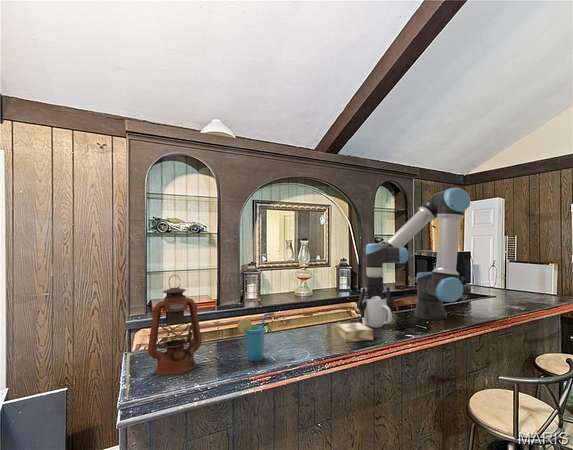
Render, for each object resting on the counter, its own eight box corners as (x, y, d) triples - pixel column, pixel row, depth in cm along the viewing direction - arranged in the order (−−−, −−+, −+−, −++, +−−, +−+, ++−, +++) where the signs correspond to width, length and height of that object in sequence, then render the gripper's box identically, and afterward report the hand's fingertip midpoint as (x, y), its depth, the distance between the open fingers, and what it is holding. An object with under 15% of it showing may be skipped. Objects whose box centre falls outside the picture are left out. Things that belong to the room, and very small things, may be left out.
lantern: (150, 380, 95) (150, 278, 96) (145, 366, 106) (145, 275, 108) (206, 368, 103) (206, 274, 105) (197, 356, 114) (196, 272, 116)
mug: (399, 328, 145) (398, 299, 146) (383, 332, 139) (382, 301, 140) (374, 321, 157) (372, 295, 158) (358, 325, 151) (357, 297, 152)
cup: (269, 350, 118) (268, 309, 119) (280, 356, 112) (279, 313, 112) (234, 359, 111) (233, 315, 111) (244, 366, 104) (243, 319, 105)
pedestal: (360, 331, 141) (360, 322, 141) (373, 339, 129) (373, 329, 129) (334, 333, 138) (334, 324, 138) (345, 342, 126) (345, 331, 127)
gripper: (392, 274, 156) (394, 320, 155) (348, 276, 151) (349, 323, 150) (401, 276, 149) (403, 324, 148) (354, 277, 144) (356, 327, 143)
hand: (376, 323), depth 149 cm, fingers closed on mug, 11 cm apart
